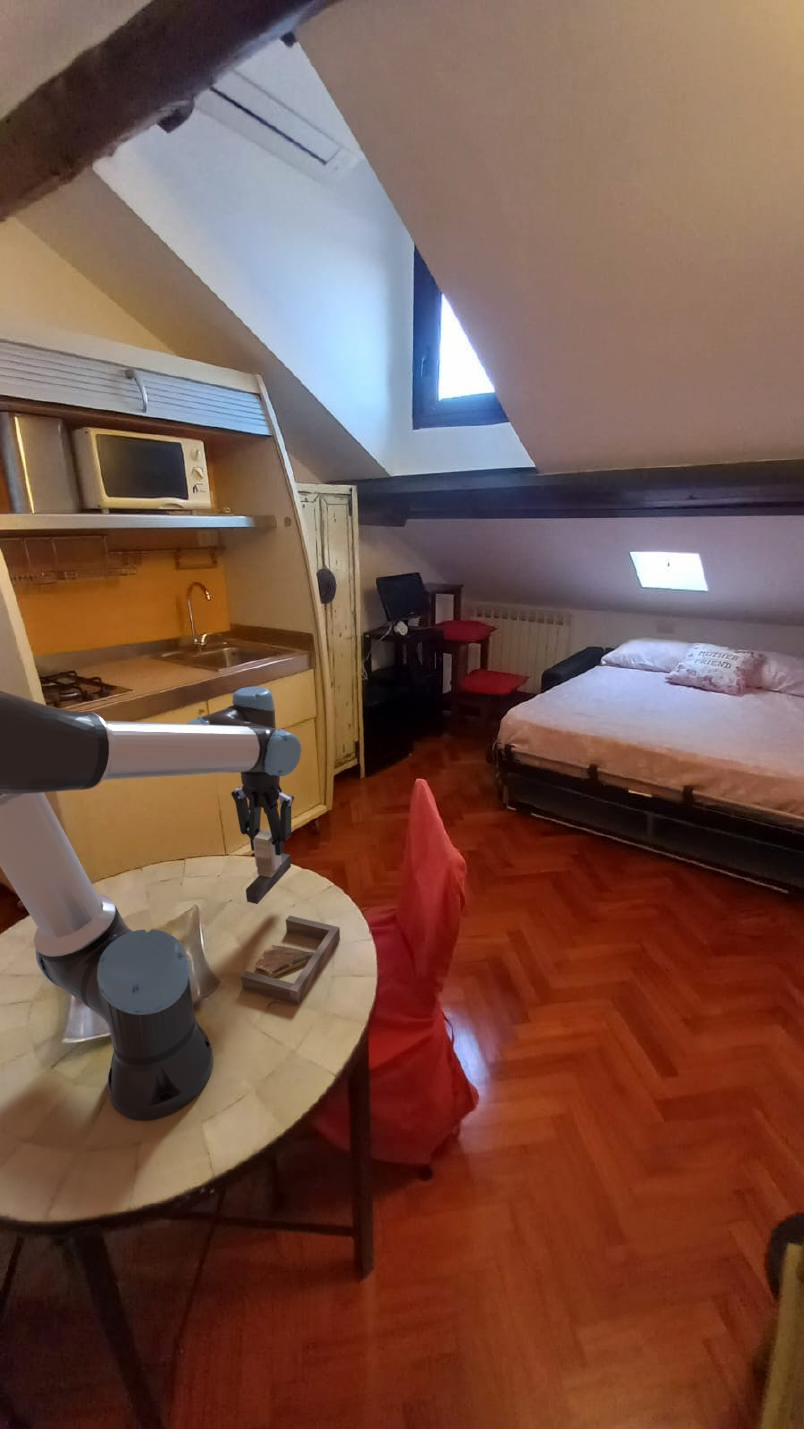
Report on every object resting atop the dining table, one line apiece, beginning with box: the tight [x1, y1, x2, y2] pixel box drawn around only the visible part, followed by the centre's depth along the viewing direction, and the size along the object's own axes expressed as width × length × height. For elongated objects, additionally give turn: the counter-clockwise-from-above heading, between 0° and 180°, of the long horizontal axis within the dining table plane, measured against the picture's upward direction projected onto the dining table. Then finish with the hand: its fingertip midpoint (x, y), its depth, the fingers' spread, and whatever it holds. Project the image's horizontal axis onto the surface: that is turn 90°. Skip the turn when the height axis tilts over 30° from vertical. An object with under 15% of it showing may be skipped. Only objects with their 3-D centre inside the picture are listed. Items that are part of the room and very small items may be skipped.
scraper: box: [245, 828, 292, 905], centre depth 125 cm, size 14×3×12 cm, turn 161°
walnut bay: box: [240, 915, 341, 1006], centre depth 115 cm, size 18×12×3 cm, turn 161°
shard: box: [254, 944, 315, 979], centre depth 115 cm, size 11×8×2 cm
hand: (268, 864), depth 126 cm, fingers closed on scraper, 3 cm apart
